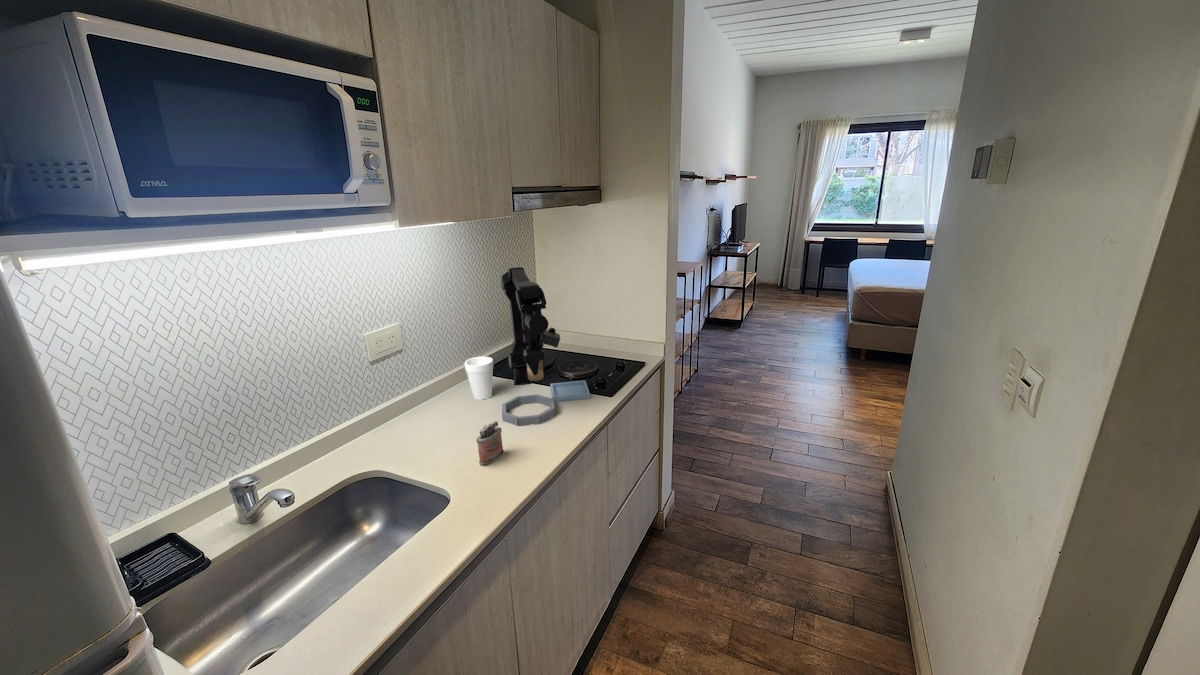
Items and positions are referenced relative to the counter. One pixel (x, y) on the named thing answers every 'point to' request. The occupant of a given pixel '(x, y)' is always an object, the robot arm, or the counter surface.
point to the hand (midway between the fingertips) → (535, 371)
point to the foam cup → (480, 376)
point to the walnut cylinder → (539, 375)
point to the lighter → (490, 444)
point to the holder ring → (533, 418)
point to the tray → (569, 391)
